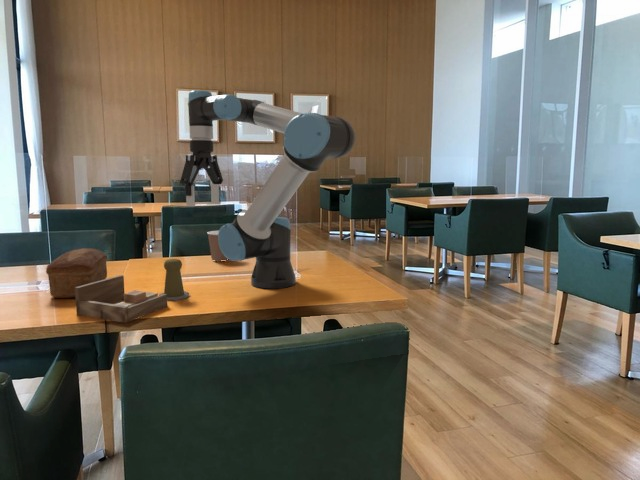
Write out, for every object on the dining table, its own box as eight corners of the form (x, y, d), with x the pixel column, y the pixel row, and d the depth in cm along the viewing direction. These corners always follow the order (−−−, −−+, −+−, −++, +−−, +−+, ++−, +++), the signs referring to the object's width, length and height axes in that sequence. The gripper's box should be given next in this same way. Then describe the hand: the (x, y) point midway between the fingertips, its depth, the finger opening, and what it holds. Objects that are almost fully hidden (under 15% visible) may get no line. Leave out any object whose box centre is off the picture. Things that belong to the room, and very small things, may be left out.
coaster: (195, 294, 151) (195, 292, 151) (176, 301, 143) (176, 299, 143) (172, 291, 154) (171, 289, 154) (152, 298, 146) (152, 296, 146)
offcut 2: (146, 311, 134) (145, 291, 133) (136, 315, 130) (135, 295, 129) (135, 309, 135) (134, 290, 135) (124, 313, 132) (123, 293, 131)
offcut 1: (135, 315, 130) (134, 303, 129) (123, 320, 126) (123, 307, 126) (123, 314, 131) (122, 301, 131) (112, 318, 128) (111, 305, 127)
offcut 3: (158, 306, 138) (157, 293, 138) (148, 310, 134) (147, 296, 134) (146, 305, 140) (146, 291, 139) (137, 308, 136) (136, 295, 135)
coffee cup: (238, 259, 206) (237, 231, 204) (221, 263, 197) (220, 234, 195) (220, 257, 211) (219, 229, 209) (202, 261, 202) (201, 232, 200)
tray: (167, 306, 138) (166, 280, 137) (125, 322, 124) (123, 294, 123) (121, 299, 145) (120, 275, 144) (76, 314, 130) (74, 287, 129)
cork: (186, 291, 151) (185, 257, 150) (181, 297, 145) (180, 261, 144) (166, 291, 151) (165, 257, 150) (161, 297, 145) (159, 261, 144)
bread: (43, 302, 142) (39, 261, 140) (69, 279, 169) (66, 245, 167) (94, 299, 145) (91, 259, 143) (111, 278, 172) (109, 244, 170)
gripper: (214, 141, 172) (215, 201, 175) (166, 138, 149) (169, 206, 152) (232, 141, 169) (233, 202, 172) (186, 137, 146) (189, 207, 150)
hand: (203, 204), depth 162 cm, fingers open, 13 cm apart
